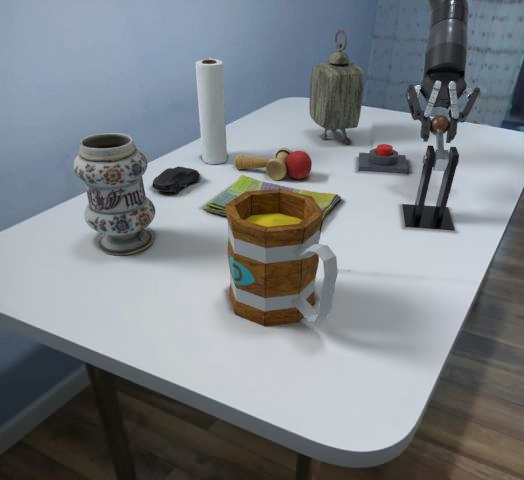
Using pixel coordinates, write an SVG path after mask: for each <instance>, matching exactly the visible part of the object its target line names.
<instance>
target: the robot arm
mask: <svg viewBox="0 0 524 480" xmlns="http://www.w3.org/2000/svg"><path fill="white" fill-rule="evenodd" d="M427 2H428V8H429V12H430V18H429V26H428V36H427V41H426V46H425V50H424V65H423V75H422V76H423V77H422V81H421V82H420V84H417V85H414V84H413V83H412V84H411V83H410V84H408V85H407V89H406V91H405V98H406V101H407V105H408V108H409V112H410V115H411V119H412V120H413V121H419V122H420V123H421V125H420V135H419V136H420V139H423V142H424V143H426V142H427V143H428V141H429V139H430V134H431V132H430V126H431V120H432V118H431V115H432V112H433V109H434V108H439V107H440V108H443V109H445V114H446V115H447V118H448V120H449V128H448V130H447V131H446V138H445V144H451V142H452V141H454V139H455V138H456V136H457V131H458V123H461V124H462V123H466V120H467V118H468V117H469V115H470V113H471V111H472V109H473V108H474V105H475V103H476V101H477V99H478V97H479V95H480V94H481V93H480V92H481V88H480V87H478V86H477V87H475V88H472V87H469V86H467V82H466V79H465V77H466V68H467V67H466V65H467V55H468V54H467V53H468V44H469V43H468V42H469V35H468V27H469V18H470V17H469V16H470V15H469V14H470V5H469V1H468V0H427ZM420 94H421V96H423V98H424V101H426V103H427V104H426V106H425V109H424V110H422V107H421V104H420V101H419V95H420ZM462 95H463V96H464V101H465V102H466V104H465V105H464V108H463V110H462V111H460V112H459V99H460V98H461V97H462Z"/></svg>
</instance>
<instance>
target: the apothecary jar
mask: <svg viewBox="0 0 524 480" xmlns="http://www.w3.org/2000/svg"><path fill="white" fill-rule="evenodd" d="M147 169H148V159H147V157H146V155H145V154H144V153H143V152H142V151H141V150H140V149H138V147H137V146H136V144H135V141H134V138H133V137H132V136H131V135H129V134H125V133H119V132H104V133H95V134H90V135H87V136H85V137H83V138H82V139H80V141H79V153H78V155H77V156H76V157H75V158H74V161H73V172H74V174H75V176H76V177H77V178H78V179H79V180H81V182H84V187H85V190H86V195H87V201H88V204H87V205H86V206H85V209H84V212H83V218H84V221H85V223H86V224H87V225H88V227H89V228H91V229H92V230H94V231H96V232H97V233H100V234H102V236H101V237H100V238H99V240H98V243H97V245H98V248H99V249H100V251H101V252H103V253H105V254H108V255H112V256H127V255H128V256H129V255H134V254H137V253H140V252H142V251H145V250H146V249H148V248H149V247H150V246H151V245H152V244H153V242H154V235H153V233H151V231H149V230H148V229H146V228H147V227H148V226H149V225H151V223H152V222H153V221H154V219H155V216H156V207H155V205H154V203H153V202H152V200H151V199H150V198H149V197H147V196H146V195H147V194H146V191H145V185H144V178H143V175H145V174H146V171H147Z"/></svg>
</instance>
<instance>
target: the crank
mask: <svg viewBox="0 0 524 480" xmlns="http://www.w3.org/2000/svg"><path fill="white" fill-rule="evenodd" d="M448 128H449V120H448V116H446V115H443V114H438V115H435V116H433V118H431V126H430V134H432V135H434V136H435V146H436V148H435V153H436V155H435V160H434V164H433V168H432V172H433V171H434V172H444V171H446V168H447V165H448V162H449V150H450V149H445V141H444V140H445V139H444V134H446V133H447V130H448Z"/></svg>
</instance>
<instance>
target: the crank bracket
mask: <svg viewBox="0 0 524 480" xmlns="http://www.w3.org/2000/svg"><path fill="white" fill-rule="evenodd" d="M448 150H449V162H448V165H447V168H446V171H443V174H442V179H441V183H440V187H439V191H438V194H437V199H436V203H435V205H425V203H426V198H427V194H428V190H429V185H430V181H431V177H432V172H433V164H434V160H435V155H436V153H435V151H436V149H435V147H434V145H432V144H431V145H427V146H426V151H425V154H424V155H423V160H422V169H421V174H420V179H419V184H418V188H417V192H416V196H415V202H414V204H410V203H401V206H402V213H403V214H402V215H403V221H404V227H405V228H410V229H411V228H412V229H425V230H439V231H450V232H451V231H453V232H455V230H456V229H455V226H454V223H453V220H452V215H451V213H450V212H451V211H450V209H449V207H448V206H447V205H448V201H449V197H450V194H451V190H452V186H453V182H454V178H455V175H456V171H457V166H458V165H459V162H460V154H459V151H458V149H457V147H456V146H450V147H449V149H448Z"/></svg>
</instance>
